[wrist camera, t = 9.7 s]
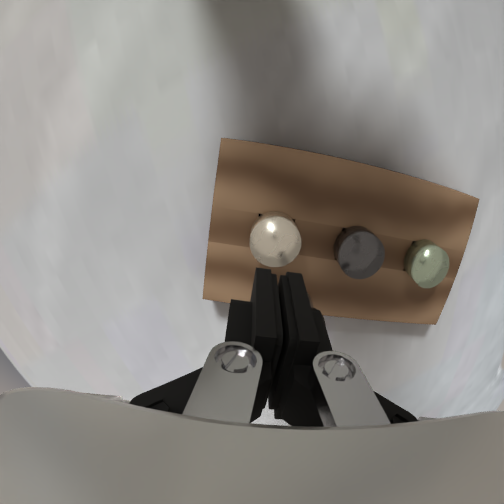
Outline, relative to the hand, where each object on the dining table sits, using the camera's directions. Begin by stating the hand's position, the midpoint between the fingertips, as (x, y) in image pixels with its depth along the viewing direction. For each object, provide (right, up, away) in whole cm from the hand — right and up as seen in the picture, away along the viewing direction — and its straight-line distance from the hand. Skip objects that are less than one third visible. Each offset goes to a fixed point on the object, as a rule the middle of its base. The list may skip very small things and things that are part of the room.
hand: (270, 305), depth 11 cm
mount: (+9, +4, +21) cm, 23 cm away
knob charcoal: (+9, +3, +20) cm, 23 cm away
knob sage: (+17, +2, +21) cm, 27 cm away
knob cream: (+1, +5, +20) cm, 21 cm away
